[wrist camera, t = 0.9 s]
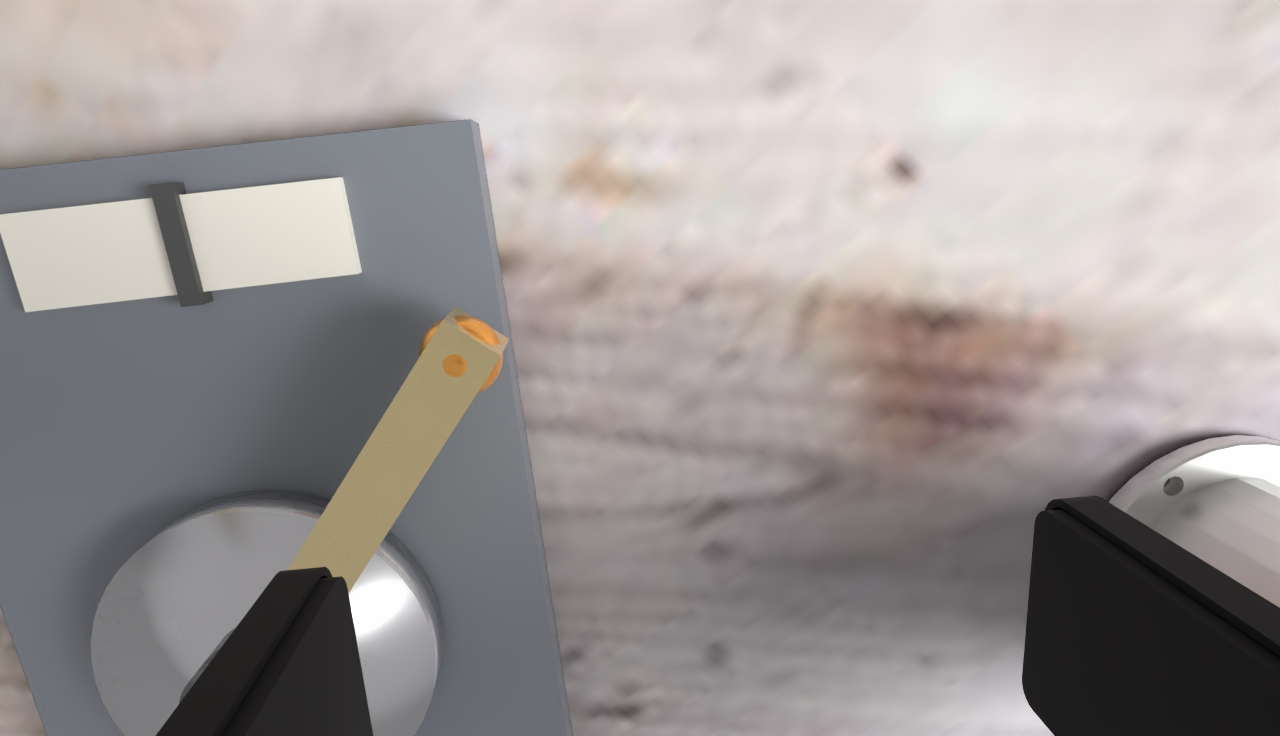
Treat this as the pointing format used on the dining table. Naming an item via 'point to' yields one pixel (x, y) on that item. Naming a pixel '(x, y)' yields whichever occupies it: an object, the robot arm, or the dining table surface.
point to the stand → (259, 389)
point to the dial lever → (301, 558)
